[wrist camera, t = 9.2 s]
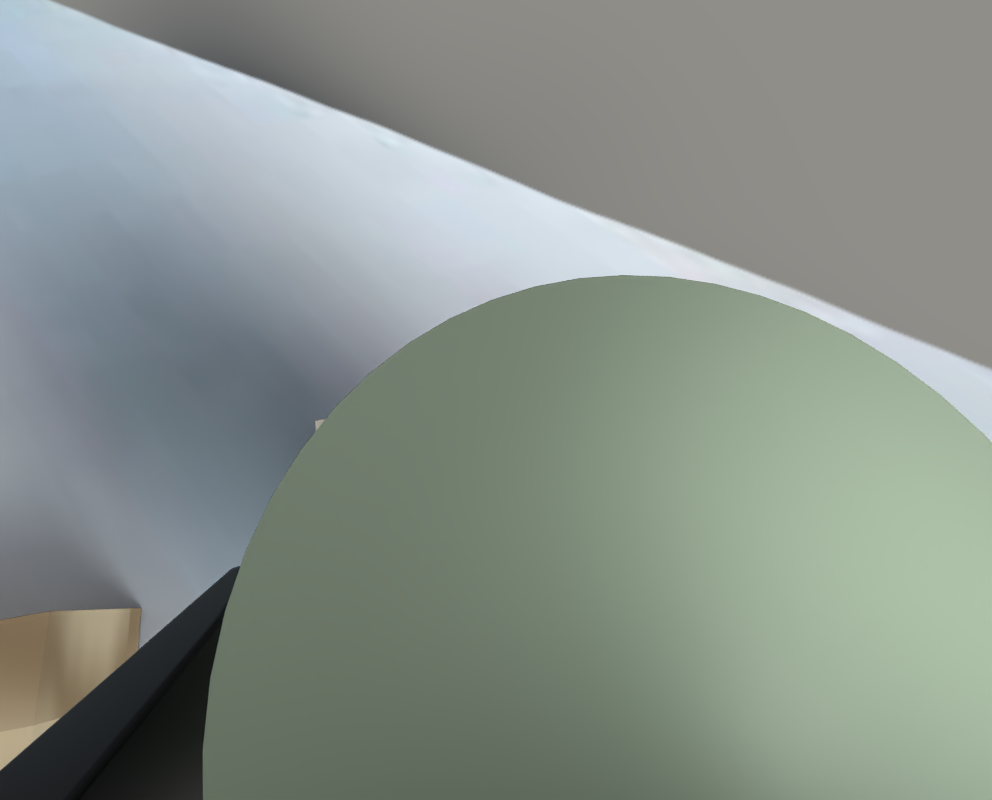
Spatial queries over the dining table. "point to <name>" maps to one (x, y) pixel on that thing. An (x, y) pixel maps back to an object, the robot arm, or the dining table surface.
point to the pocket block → (56, 666)
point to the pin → (618, 568)
